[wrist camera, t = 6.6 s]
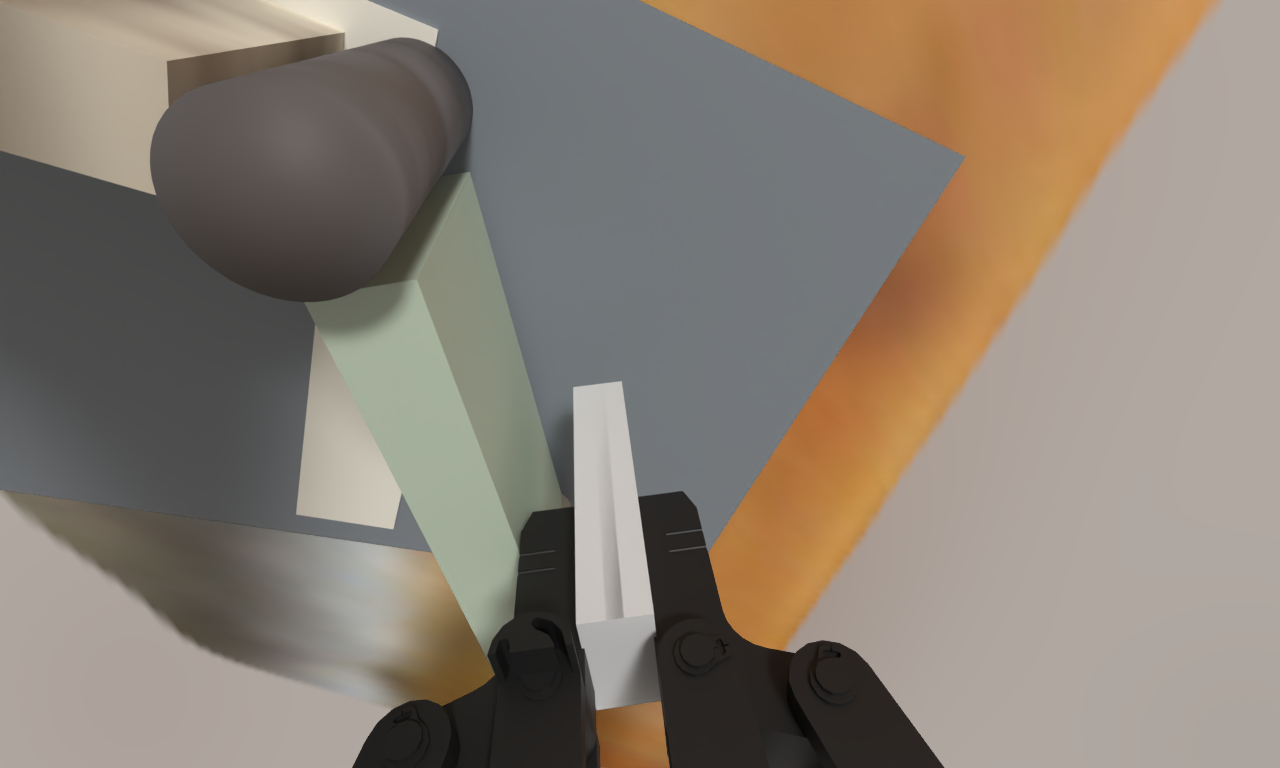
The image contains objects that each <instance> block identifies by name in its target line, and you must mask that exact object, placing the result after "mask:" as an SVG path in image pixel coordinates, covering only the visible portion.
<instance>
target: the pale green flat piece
mask: <svg viewBox="0 0 1280 768" xmlns="http://www.w3.org/2000/svg"><path fill="white" fill-rule="evenodd" d="M304 303H305V305H306V307H307V309H308V311H309V313H310V315H311V317H312V319H313V321H314V323H315V324H316V326H317V328H318V330H319V332H320V334H321V336H322V338H323V340H324V342H325V344H326V346H327V348H328V350H329V352H330V354H331V356H332V358H333V360H334V362H335V363H336V365H337V367H338V369H339V371H340V373H341V375H342V377H343V379H344V381H345V383H346V385H347V387H348V389H349V391H350V393H351V395H352V397H353V399H354V401H355V402H356V404H357V406H358V408H359V410H360V412H361V414H362V416H363V418H364V420H365V422H366V424H367V426H368V428H369V430H370V432H371V434H372V436H373V438H374V440H375V441H376V443H377V445H378V447H379V449H380V451H381V453H382V455H383V457H384V459H385V461H386V463H387V465H388V467H389V469H390V471H391V473H392V475H393V477H394V479H395V480H396V482H397V484H398V486H399V488H400V490H401V492H402V494H403V496H404V498H405V500H406V502H407V504H408V506H409V508H410V510H411V512H412V514H413V516H414V517H415V519H416V521H417V523H418V525H419V527H420V529H421V531H422V533H423V535H424V537H425V539H426V541H427V543H428V545H429V547H430V549H431V551H432V553H433V555H434V556H435V558H436V560H437V562H438V564H439V566H440V568H441V570H442V572H443V574H444V576H445V578H446V580H447V582H448V584H449V586H450V588H451V590H452V592H453V594H454V595H455V597H456V599H457V601H458V603H459V605H460V607H461V609H462V611H463V613H464V615H465V617H466V619H467V621H468V623H469V625H470V627H471V629H472V631H473V633H474V634H475V636H476V638H477V640H478V642H479V644H480V646H481V648H482V650H483V652H484V654H485V656H486V658H487V660H488V662H489V664H490V661H489V659H488V657H487V654H488V651H489V648H490V645H491V642H492V639H493V638H494V637H495V635H496V634H497V633H498V632H499V630H500V629H501V628H502V626H503V625H505V624H506V623H508V622H509V621H511V620H512V619H514V609H515V598H516V586H517V576H518V564H519V558H520V554H519V552H520V541H521V532H522V530H523V528H524V526H525V525H526V523H527V521H528V519H529V517H530V516H531V514H532V512H535V511H543V510H551V509H559V508H566V507H571V504H570V502H569V500H568V499H567V498H566V497H565V496H564V495H563V494H561V491H560V487H559V483H558V480H557V476H556V473H555V469H554V466H553V462H552V459H551V455H550V452H549V448H548V445H547V441H546V438H545V434H544V431H543V427H542V424H541V420H540V417H539V413H538V410H537V406H536V403H535V399H534V396H533V392H532V389H531V385H530V382H529V378H528V375H527V371H526V368H525V364H524V360H523V357H522V353H521V350H520V346H519V343H518V339H517V336H516V332H515V329H514V325H513V322H512V318H511V315H510V311H509V308H508V304H507V301H506V297H505V294H504V290H503V287H502V283H501V280H500V276H499V273H498V269H497V266H496V262H495V259H494V255H493V252H492V248H491V244H490V241H489V237H488V234H487V230H486V227H485V223H484V220H483V216H482V213H481V209H480V206H479V202H478V199H477V195H476V192H475V188H474V185H473V181H472V178H471V174H470V172H465V173H459V174H452V175H446V176H440V178H439V180H438V181H437V183H436V184H435V186H434V187H433V189H432V190H431V192H430V194H429V195H428V197H427V198H426V200H425V201H424V203H423V204H422V206H421V207H420V209H419V211H418V212H417V214H416V215H415V217H414V218H413V220H412V221H411V223H410V225H409V226H408V228H407V229H406V231H405V232H404V234H403V235H402V237H401V239H400V240H399V242H398V243H397V245H396V246H395V248H394V249H393V251H392V253H391V254H390V256H389V257H388V259H387V260H386V262H385V263H384V265H383V266H382V268H381V270H380V271H379V272H378V273H377V274H376V275H375V277H374V278H373V279H372V280H371V281H369V282H368V283H367V284H366V285H364V286H363V287H362V288H360V289H358V290H356V291H355V292H353V293H351V294H348V295H346V296H343V297H340V298H337V299H333V300H329V301H321V302H304ZM490 666H491V664H490ZM491 668H492V666H491ZM492 670H493V669H492ZM493 672H494V671H493Z"/></svg>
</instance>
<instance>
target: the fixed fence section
mask: <svg viewBox="0 0 1280 768" xmlns="http://www.w3.org/2000/svg"><path fill="white" fill-rule="evenodd" d="M344 35H345V32H343V31H340V30H338V29H335V28H333V27H330V26H328V25H325V24H323V23H320V22H318V21H315V20H313V19H310V18H307V17H305V16H302V15H300V14H297V13H295V12H292V11H290V10H287V9H285V8H282V7H280V6H277V5H274V4H272V3H269V2H267V1H264V0H0V151H4V152H7V153H11V154H14V155H18V156H21V157H25V158H28V159H32V160H35V161H39V162H42V163H46V164H49V165H52V166H56V167H59V168H63V169H66V170H70V171H73V172H77V173H80V174H84V175H87V176H91V177H94V178H98V179H101V180H105V181H108V182H112V183H115V184H119V185H122V186H125V187H129V188H132V189H136V190H139V191H143V192H146V193H150V194H153V195H156V196H157V198H158V200H159V203H160V205H161V208H162V210H163V211H164V213H165V215H166V217H167V219H168V220H169V222H170V224H171V225H172V227H173V228H174V229H175V231H176V232H177V234H178V235H179V236H180V238H181V239H182V240H183V241H184V242H185V243H186V244H187V246H188V247H189V248H190V249H191V250H192V251H193V252H194V253H195V254H196V255H197V256H198V257H200V258H201V259H202V260H203V261H204V262H205V263H206V264H208V265H209V266H210V267H212V268H213V269H214V270H215V271H217V272H218V273H220V274H222V275H223V276H225V277H226V278H228V279H229V280H231V281H233V282H235V283H237V284H239V285H241V286H243V287H244V288H247V289H249V290H252V291H254V292H257V293H259V294H262V295H266V296H269V297H272V298H276V299H281V300H286V301H295V302H321V301H329V300H333V299H337V298H340V297H343V296H346V295H348V294H351V293H353V292H355V291H356V290H358V289H360V288H362V287H363V286H364V285H366V284H367V283H368V282H369V281H371V280H372V279H373V278H374V277H375V275H376V274H377V273H378V272H379V271H380V270H381V268H382V266H383V265H384V263H385V262H386V260H387V259H388V257H389V256H390V254H391V253H392V251H393V249H394V248H395V246H396V245H397V243H398V242H399V240H400V239H401V237H402V235H403V234H404V232H405V231H406V229H407V228H408V226H409V225H410V223H411V221H412V220H413V218H414V217H415V215H416V214H417V212H418V211H419V209H420V207H421V206H422V204H423V203H424V201H425V200H426V198H427V197H428V195H429V194H430V192H431V190H432V189H433V187H434V186H435V184H436V183H437V181H438V180H439V178H440V176H441V175H442V173H443V172H444V170H445V169H446V167H447V166H448V164H449V162H450V161H451V159H452V158H453V156H454V155H455V153H456V152H457V150H458V149H459V147H460V145H461V144H462V142H463V141H464V139H465V138H466V136H467V134H468V132H469V130H470V127H471V123H472V117H473V103H472V96H471V92H470V89H469V86H468V83H467V81H466V79H465V77H464V75H463V74H462V72H461V70H460V69H459V67H458V66H457V65H456V64H455V62H454V61H453V60H452V59H451V58H450V57H449V56H448V55H447V54H445V53H444V52H443V51H442V50H440V49H439V48H437V47H434V46H433V45H431V44H429V43H426V42H424V41H421V40H418V39H413V38H405V37H400V38H392V39H388V40H384V41H380V42H376V43H372V44H368V45H364V46H360V47H356V48H351V49H347V50H343V45H344Z"/></svg>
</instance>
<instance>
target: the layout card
mask: <svg viewBox="0 0 1280 768" xmlns="http://www.w3.org/2000/svg"><path fill="white" fill-rule="evenodd" d="M264 1H267V2H269V3H272V4H274V5H277V6H280V7H282V8H285V9H287V10H290V11H292V12H295V13H297V14H300V15H302V16H305V17H307V18H310V19H313V20H315V21H318V22H320V23H323V24H325V25H328V26H330V27H333V28H335V29H338V30H340V31H343V32H345V35H344V45H343V50H347V49H351V48H356V47H360V46H364V45H368V44H372V43H376V42H380V41H384V40H388V39H392V38H400V37H405V38H413V39H418V40H421V41H424V42H426V43H429V44H431V45H433V46H434V47H437V48H439V49H440V50H442V51H443V52H444V53H445V54H447V55H448V56H449V57H450V58H451V59H452V60H453V61H454V62H455V64H456V65H457V66H458V67H459V69H460V70H461V72H462V74H463V75H464V77H465V79H466V81H467V83H468V86H469V89H470V92H471V96H472V103H473V117H472V123H471V127H470V130H469V132H468V134H467V136H466V138H465V139H464V141H463V142H462V144H461V145H460V147H459V149H458V150H457V152H456V153H455V155H454V156H453V158H452V159H451V161H450V162H449V164H448V166H447V167H446V169H445V170H444V172H443V173H442V175H441V176H446V175H452V174H459V173H465V172H470V174H471V178H472V181H473V185H474V188H475V192H476V195H477V199H478V202H479V206H480V209H481V213H482V216H483V220H484V223H485V227H486V230H487V234H488V237H489V241H490V244H491V248H492V252H493V255H494V259H495V262H496V266H497V269H498V273H499V276H500V280H501V283H502V287H503V290H504V294H505V297H506V301H507V304H508V308H509V311H510V315H511V318H512V322H513V325H514V329H515V332H516V336H517V339H518V343H519V346H520V350H521V353H522V357H523V360H524V364H525V368H526V371H527V375H528V378H529V382H530V385H531V389H532V392H533V396H534V399H535V403H536V406H537V410H538V413H539V417H540V420H541V424H542V427H543V431H544V434H545V438H546V441H547V445H548V448H549V452H550V455H551V459H552V462H553V466H554V469H555V473H556V476H557V480H558V483H559V487H560V491H561V494H563V495H564V496H565V497H566V498H567V499H568V500H569V502H570V504H571V507H574V506H575V496H574V410H573V387H578V386H586V385H594V384H603V383H611V382H619V381H622V387H623V394H624V401H625V408H626V415H627V423H628V430H629V437H630V444H631V451H632V459H633V466H634V473H635V480H636V487H637V495H638V497H640V496H647V495H655V494H663V493H670V492H678V491H683V492H684V493H685V494H686V495H687V496H688V498H689V499H690V500H691V501H692V502H693V504H694V505H695V506H696V507H697V510H698V514H699V518H700V522H701V526H702V532H703V534H704V538H705V542H706V548H707V550H708V552H709V550H710V549H711V547H712V546H713V544H714V543H715V541H716V540H717V538H718V537H719V535H720V534H721V532H722V531H723V529H724V527H725V526H726V524H727V523H728V521H729V520H730V518H731V517H732V515H733V514H734V512H735V511H736V509H737V507H738V506H739V504H740V503H741V501H742V500H743V498H744V497H745V495H746V494H747V492H748V491H749V489H750V487H751V486H752V484H753V483H754V481H755V480H756V478H757V477H758V475H759V474H760V472H761V471H762V469H763V468H764V466H765V464H766V463H767V461H768V460H769V458H770V457H771V455H772V454H773V452H774V451H775V449H776V448H777V446H778V444H779V443H780V441H781V440H782V438H783V437H784V435H785V434H786V432H787V431H788V429H789V428H790V426H791V424H792V423H793V421H794V420H795V418H796V417H797V415H798V414H799V412H800V411H801V409H802V408H803V406H804V404H805V403H806V401H807V400H808V398H809V397H810V395H811V394H812V392H813V391H814V389H815V388H816V386H817V385H818V383H819V381H820V380H821V378H822V377H823V375H824V374H825V372H826V371H827V369H828V368H829V366H830V365H831V363H832V361H833V360H834V358H835V357H836V355H837V354H838V352H839V351H840V349H841V348H842V346H843V345H844V343H845V341H846V340H847V338H848V337H849V335H850V334H851V332H852V331H853V329H854V328H855V326H856V325H857V323H858V322H859V320H860V318H861V317H862V315H863V314H864V312H865V311H866V309H867V308H868V306H869V305H870V303H871V302H872V300H873V298H874V297H875V295H876V294H877V292H878V291H879V289H880V288H881V286H882V285H883V283H884V282H885V280H886V278H887V277H888V275H889V274H890V272H891V271H892V269H893V268H894V266H895V265H896V263H897V262H898V260H899V259H900V257H901V255H902V254H903V252H904V251H905V249H906V248H907V246H908V245H909V243H910V242H911V240H912V239H913V237H914V235H915V234H916V232H917V231H918V229H919V228H920V226H921V225H922V223H923V222H924V220H925V219H926V217H927V215H928V214H929V212H930V211H931V209H932V208H933V206H934V205H935V203H936V202H937V200H938V199H939V197H940V196H941V194H942V192H943V191H944V189H945V188H946V186H947V185H948V183H949V182H950V180H951V179H952V177H953V176H954V174H955V172H956V171H957V169H958V168H959V166H960V165H961V163H962V162H963V160H964V159H965V156H963V155H961V154H959V153H957V152H954V151H952V150H950V149H948V148H946V147H944V146H942V145H940V144H938V143H936V142H934V141H931V140H929V139H927V138H925V137H923V136H921V135H919V134H917V133H915V132H913V131H911V130H909V129H906V128H904V127H902V126H900V125H898V124H896V123H894V122H892V121H890V120H888V119H886V118H883V117H881V116H879V115H877V114H875V113H873V112H871V111H869V110H867V109H865V108H863V107H861V106H858V105H856V104H854V103H852V102H850V101H848V100H846V99H844V98H842V97H840V96H838V95H835V94H833V93H831V92H829V91H827V90H825V89H823V88H821V87H819V86H817V85H815V84H813V83H810V82H808V81H806V80H804V79H802V78H800V77H798V76H796V75H794V74H792V73H790V72H787V71H785V70H783V69H781V68H779V67H777V66H775V65H773V64H771V63H769V62H767V61H765V60H762V59H760V58H758V57H756V56H754V55H752V54H750V53H748V52H746V51H744V50H742V49H739V48H737V47H735V46H733V45H731V44H729V43H727V42H725V41H723V40H721V39H719V38H717V37H714V36H712V35H710V34H708V33H706V32H704V31H702V30H700V29H698V28H696V27H694V26H692V25H689V24H687V23H685V22H683V21H681V20H679V19H677V18H675V17H673V16H671V15H669V14H666V13H664V12H662V11H660V10H658V9H656V8H654V7H652V6H650V5H648V4H646V3H644V2H641V1H639V0H264ZM0 490H5V491H12V492H19V493H26V494H33V495H40V496H46V497H53V498H60V499H67V500H74V501H81V502H88V503H95V504H102V505H108V506H115V507H122V508H129V509H136V510H143V511H150V512H157V513H164V514H171V515H177V516H184V517H191V518H198V519H205V520H212V521H219V522H226V523H233V524H239V525H246V526H253V527H260V528H267V529H274V530H281V531H288V532H295V533H301V534H308V535H315V536H322V537H329V538H336V539H343V540H350V541H357V542H364V543H370V544H377V545H384V546H391V547H398V548H405V549H412V550H419V551H426V552H432V551H431V549H430V547H429V545H428V543H427V541H426V539H425V537H424V535H423V533H422V531H421V529H420V527H419V525H418V523H417V521H416V519H415V517H414V516H413V514H412V512H411V510H410V508H409V506H408V504H407V502H406V500H405V498H404V496H403V494H402V492H401V490H400V488H399V486H398V484H397V482H396V480H395V479H394V477H393V475H392V473H391V471H390V469H389V467H388V465H387V463H386V461H385V459H384V457H383V455H382V453H381V451H380V449H379V447H378V445H377V443H376V441H375V440H374V438H373V436H372V434H371V432H370V430H369V428H368V426H367V424H366V422H365V420H364V418H363V416H362V414H361V412H360V410H359V408H358V406H357V404H356V402H355V401H354V399H353V397H352V395H351V393H350V391H349V389H348V387H347V385H346V383H345V381H344V379H343V377H342V375H341V373H340V371H339V369H338V367H337V365H336V363H335V362H334V360H333V358H332V356H331V354H330V352H329V350H328V348H327V346H326V344H325V342H324V340H323V338H322V336H321V334H320V332H319V330H318V328H317V326H316V324H315V323H314V321H313V319H312V317H311V315H310V313H309V311H308V309H307V307H306V305H305V303H304V302H295V301H286V300H281V299H276V298H272V297H269V296H266V295H262V294H259V293H257V292H254V291H252V290H249V289H247V288H244V287H243V286H241V285H239V284H237V283H235V282H233V281H231V280H229V279H228V278H226V277H225V276H223V275H222V274H220V273H218V272H217V271H215V270H214V269H213V268H212V267H210V266H209V265H208V264H206V263H205V262H204V261H203V260H202V259H201V258H200V257H198V256H197V255H196V254H195V253H194V252H193V251H192V250H191V249H190V248H189V247H188V246H187V244H186V243H185V242H184V241H183V240H182V239H181V238H180V236H179V235H178V234H177V232H176V231H175V229H174V228H173V227H172V225H171V224H170V222H169V220H168V219H167V217H166V215H165V213H164V211H163V210H162V208H161V205H160V203H159V200H158V198H157V196H156V195H153V194H150V193H146V192H143V191H139V190H136V189H132V188H129V187H125V186H122V185H119V184H115V183H112V182H108V181H105V180H101V179H98V178H94V177H91V176H87V175H84V174H80V173H77V172H73V171H70V170H66V169H63V168H59V167H56V166H52V165H49V164H46V163H42V162H39V161H35V160H32V159H28V158H25V157H21V156H18V155H14V154H11V153H7V152H4V151H0Z"/></svg>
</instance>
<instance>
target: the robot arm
mask: <svg viewBox="0 0 1280 768" xmlns="http://www.w3.org/2000/svg"><path fill="white" fill-rule="evenodd" d="M573 410H574V496H575V506H574V507H566V508H559V509H551V510H543V511H535V512H532V514H531V516H530V517H529V519H528V521H527V523H526V525H525V526H524V528H523V530H522V532H521V541H520V552H519V554H520V558H519V564H518V576H517V586H516V598H515V609H514V619H512V620H511V621H509V622H508V623H506V624H505V625H503V626H502V628H501V629H500V630H499V632H498V633H497V634H496V635H495V637H494V638H493V639H492V642H491V645H490V648H489V651H488V654H487V657H488V659H489V661H490V664H491V666H492V669H493V671H494V673H495V676H494V677H493V678H491V679H490V680H489V681H488V682H487V683H486V684H485V685H483V686H481V687H480V688H478V689H476V690H475V691H473V692H471V693H469V694H467V695H465V696H463V697H461V698H459V699H456V700H454V701H452V702H450V703H448V704H446V705H444V706H442V707H441V706H440V705H439V704H436V703H434V702H431V701H429V700H417V701H409V702H407V703H405V704H403V705H401V706H398V707H396V708H394V709H393V710H391V711H390V712H389V713H388V714H387V715H386V716H384V717H383V718H382V719H381V720H380V721H379V722H378V723H377V724H376V726H375V727H374V729H373V730H372V732H371V733H370V735H369V736H368V738H367V739H366V741H365V743H364V745H363V747H362V749H361V751H360V753H359V755H358V757H357V759H356V761H355V763H354V765H353V767H352V768H600V746H599V742H598V737H597V733H596V709H597V710H602V709H609V708H615V707H622V706H629V705H636V704H642V703H649V702H656V701H661V703H662V711H663V719H664V727H665V736H666V746H667V755H668V758H669V765H670V768H944V767H943V765H942V764H941V763H940V761H939V760H938V759H937V757H936V756H935V754H934V753H933V752H932V750H931V749H930V748H929V746H928V745H927V743H926V742H925V741H924V739H923V738H922V737H921V735H920V734H919V733H918V731H917V730H916V728H915V727H914V726H913V724H912V723H911V722H910V720H909V719H908V718H907V716H906V715H905V714H904V712H903V711H902V710H901V708H900V707H899V706H898V704H897V703H896V701H895V700H894V699H893V697H892V696H891V694H890V693H889V692H888V690H887V689H886V688H885V686H884V685H883V684H882V682H881V681H880V679H879V678H878V677H877V675H876V674H875V673H874V672H873V670H872V668H871V667H870V666H869V665H868V663H867V662H866V661H864V660H863V658H862V657H861V656H859V654H858V653H856V652H855V651H853V650H852V649H850V648H848V647H846V646H844V645H842V644H840V643H836V642H830V641H823V640H822V641H817V642H813V643H808V644H806V645H805V646H804V647H802V648H801V649H799V650H798V651H797V652H796V653H791V652H786V651H780V650H775V649H769V648H765V647H762V646H758V645H755V644H753V643H751V642H749V641H747V640H745V639H744V638H742V637H741V636H740V635H739V634H738V633H736V632H735V631H734V630H733V629H732V627H731V626H730V624H729V623H728V622H727V620H726V618H725V615H724V612H723V610H722V606H721V602H720V598H719V594H718V590H717V586H716V582H715V578H714V574H713V570H712V566H711V562H710V558H709V554H708V550H707V548H706V542H705V538H704V534H703V532H702V526H701V522H700V518H699V514H698V510H697V507H696V506H695V505H694V504H693V502H692V501H691V500H690V499H689V498H688V496H687V495H686V494H685V493H684V492H683V491H678V492H670V493H663V494H655V495H647V496H640V497H638V495H637V487H636V480H635V473H634V466H633V459H632V451H631V444H630V437H629V430H628V423H627V415H626V408H625V401H624V394H623V387H622V381H619V382H611V383H603V384H594V385H586V386H578V387H573ZM595 705H596V709H595Z"/></svg>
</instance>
